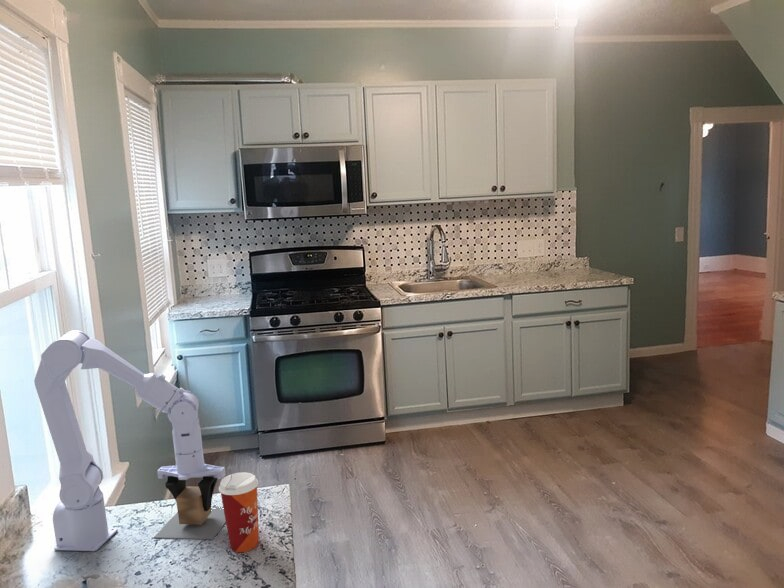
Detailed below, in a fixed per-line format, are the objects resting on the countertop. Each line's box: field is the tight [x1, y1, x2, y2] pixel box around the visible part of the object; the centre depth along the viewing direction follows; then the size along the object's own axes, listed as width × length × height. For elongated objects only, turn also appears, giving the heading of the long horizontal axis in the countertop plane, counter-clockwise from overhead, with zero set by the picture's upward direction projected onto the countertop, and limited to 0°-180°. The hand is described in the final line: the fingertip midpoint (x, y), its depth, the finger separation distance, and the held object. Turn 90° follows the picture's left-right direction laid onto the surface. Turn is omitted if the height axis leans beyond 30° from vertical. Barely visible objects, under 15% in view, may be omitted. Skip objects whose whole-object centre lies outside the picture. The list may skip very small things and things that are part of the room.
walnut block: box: [175, 486, 212, 525], centre depth 132 cm, size 5×5×6 cm
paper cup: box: [218, 471, 260, 553], centre depth 122 cm, size 8×8×14 cm
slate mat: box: [153, 506, 226, 540], centre depth 133 cm, size 13×13×1 cm
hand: (195, 508), depth 133 cm, fingers closed on walnut block, 5 cm apart
